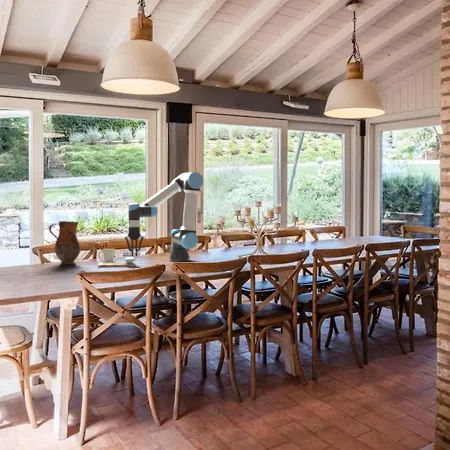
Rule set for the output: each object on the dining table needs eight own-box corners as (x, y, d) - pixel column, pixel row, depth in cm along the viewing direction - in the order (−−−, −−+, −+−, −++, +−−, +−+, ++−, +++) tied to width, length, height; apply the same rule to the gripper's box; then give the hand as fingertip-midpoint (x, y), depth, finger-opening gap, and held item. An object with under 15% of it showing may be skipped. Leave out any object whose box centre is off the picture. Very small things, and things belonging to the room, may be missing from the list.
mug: (111, 264, 351) (111, 250, 350) (95, 263, 353) (94, 249, 352) (116, 262, 359) (116, 248, 358) (100, 262, 361) (100, 248, 360)
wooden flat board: (135, 265, 344) (135, 262, 344) (134, 268, 336) (134, 264, 336) (99, 266, 341) (99, 262, 341) (97, 268, 332) (97, 264, 332)
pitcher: (85, 264, 348) (84, 221, 345) (55, 268, 333) (54, 223, 331) (73, 262, 360) (72, 220, 357) (44, 265, 345) (43, 221, 342)
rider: (133, 264, 343) (133, 257, 342) (133, 266, 337) (133, 258, 336) (126, 264, 342) (126, 257, 342) (125, 266, 336) (125, 258, 336)
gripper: (144, 225, 342) (144, 260, 344) (124, 226, 340) (124, 260, 342) (144, 226, 335) (144, 262, 337) (124, 226, 333) (124, 262, 335)
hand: (134, 261), depth 340 cm, fingers closed
